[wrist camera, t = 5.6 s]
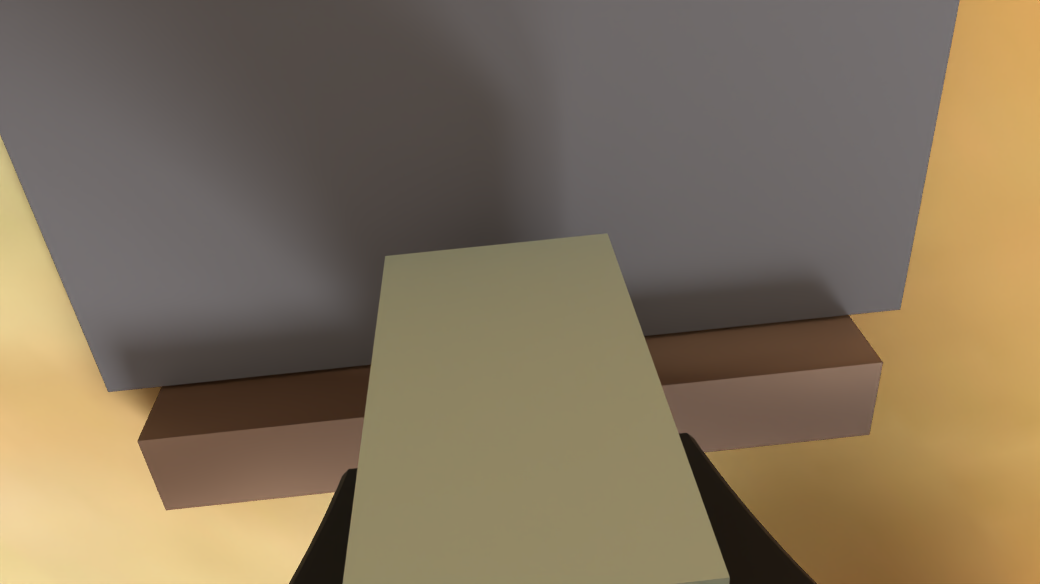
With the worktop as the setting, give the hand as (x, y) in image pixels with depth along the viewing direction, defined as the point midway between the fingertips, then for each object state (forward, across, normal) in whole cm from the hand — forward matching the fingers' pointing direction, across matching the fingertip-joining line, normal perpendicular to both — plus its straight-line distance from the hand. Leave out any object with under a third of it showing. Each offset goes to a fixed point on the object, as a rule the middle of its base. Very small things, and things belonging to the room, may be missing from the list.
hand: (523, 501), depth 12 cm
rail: (+5, 0, +2) cm, 6 cm away
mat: (+5, 0, -4) cm, 6 cm away
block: (+3, 0, 0) cm, 3 cm away
